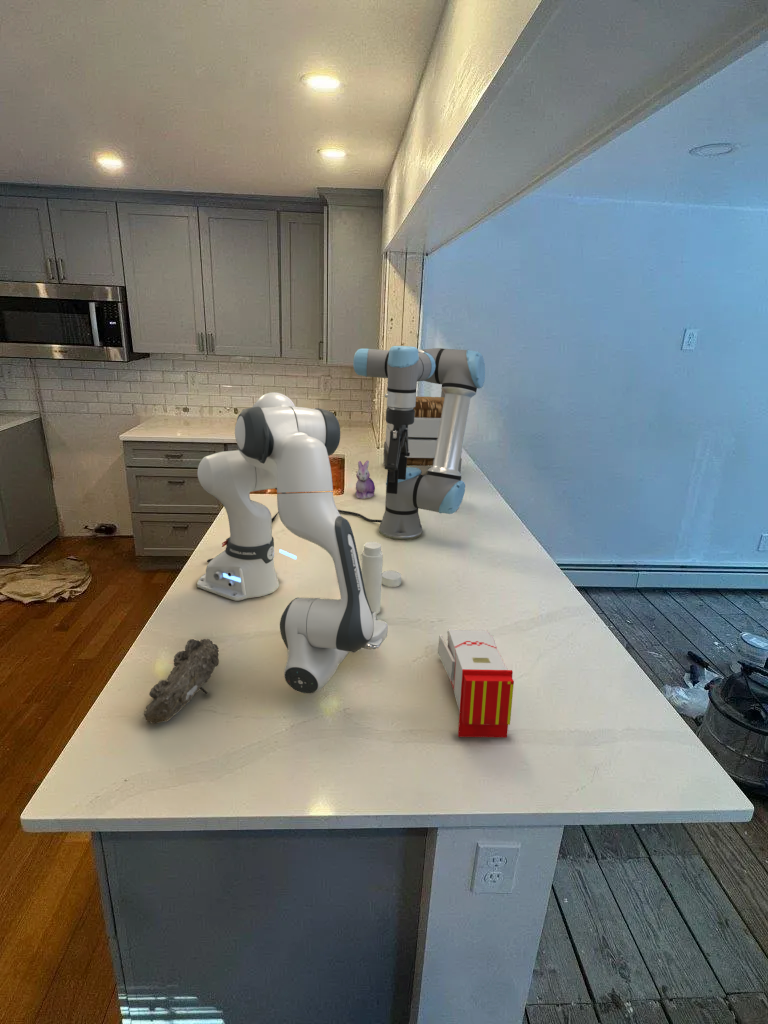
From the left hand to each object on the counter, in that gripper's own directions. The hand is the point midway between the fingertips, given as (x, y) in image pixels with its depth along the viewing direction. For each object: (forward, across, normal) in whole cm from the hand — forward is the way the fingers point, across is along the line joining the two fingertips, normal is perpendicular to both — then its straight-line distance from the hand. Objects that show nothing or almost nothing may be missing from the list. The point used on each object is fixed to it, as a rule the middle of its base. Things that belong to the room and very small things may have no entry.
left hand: (354, 610), depth 136 cm
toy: (-12, -30, +6) cm, 33 cm away
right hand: (+30, 0, -23) cm, 38 cm away
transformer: (+146, +21, +6) cm, 147 cm away
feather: (+65, +56, +6) cm, 86 cm away
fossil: (-33, +23, +6) cm, 41 cm away
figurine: (+101, +34, +6) cm, 107 cm away
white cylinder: (+30, 0, +4) cm, 30 cm away
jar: (+12, 0, +6) cm, 14 cm away
